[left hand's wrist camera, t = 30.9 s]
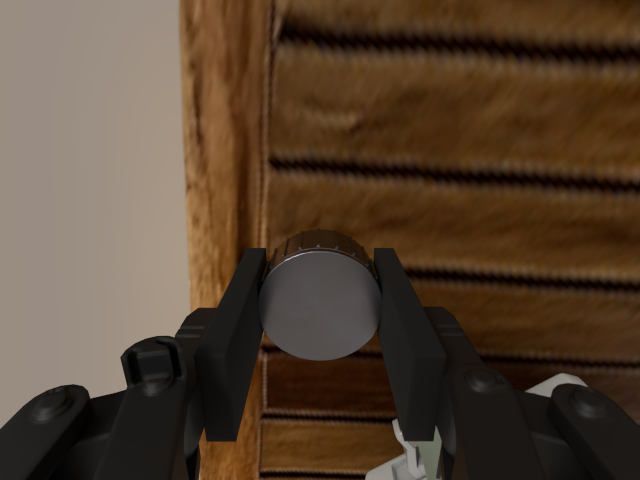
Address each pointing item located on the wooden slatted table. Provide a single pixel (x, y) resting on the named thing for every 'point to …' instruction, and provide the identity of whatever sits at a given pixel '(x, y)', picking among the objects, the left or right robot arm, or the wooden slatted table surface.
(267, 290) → the cap
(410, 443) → the right robot arm
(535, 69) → the wooden slatted table surface
